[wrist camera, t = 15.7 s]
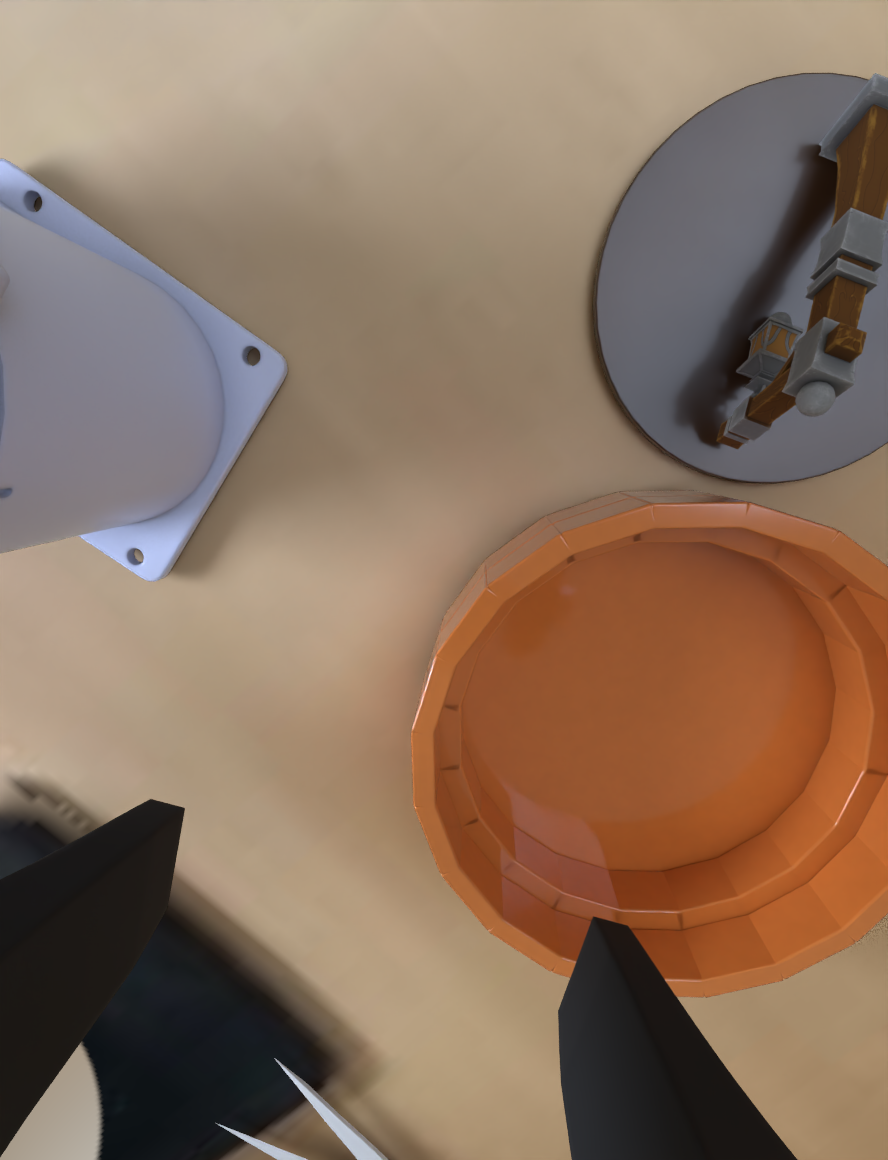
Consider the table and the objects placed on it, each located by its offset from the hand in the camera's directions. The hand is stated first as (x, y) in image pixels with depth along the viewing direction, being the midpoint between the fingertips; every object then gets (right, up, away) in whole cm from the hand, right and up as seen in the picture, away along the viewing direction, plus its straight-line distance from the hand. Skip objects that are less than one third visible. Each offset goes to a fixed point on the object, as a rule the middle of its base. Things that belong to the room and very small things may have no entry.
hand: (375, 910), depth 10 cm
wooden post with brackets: (+11, +13, +6) cm, 18 cm away
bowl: (+7, +2, +9) cm, 12 cm away
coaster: (+10, +13, +6) cm, 18 cm away
